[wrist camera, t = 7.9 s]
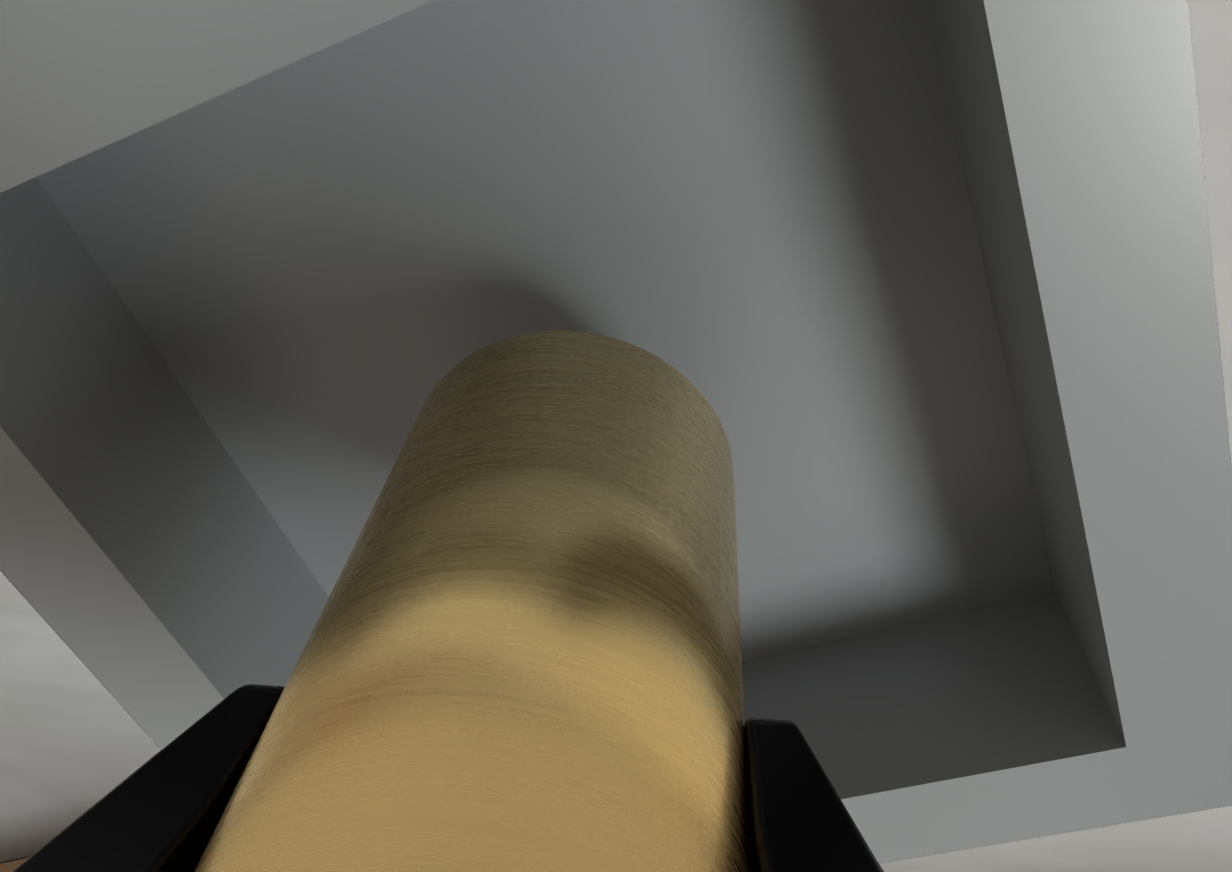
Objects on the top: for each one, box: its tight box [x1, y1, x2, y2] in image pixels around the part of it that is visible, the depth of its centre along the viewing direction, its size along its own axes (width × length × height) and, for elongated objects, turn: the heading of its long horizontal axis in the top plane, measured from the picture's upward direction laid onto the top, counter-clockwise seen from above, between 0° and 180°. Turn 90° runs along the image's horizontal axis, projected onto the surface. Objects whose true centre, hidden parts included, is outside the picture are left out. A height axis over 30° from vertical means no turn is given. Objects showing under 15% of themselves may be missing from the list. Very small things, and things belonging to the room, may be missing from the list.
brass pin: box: [194, 331, 750, 872], centre depth 9 cm, size 4×4×8 cm
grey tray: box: [0, 0, 1232, 863], centre depth 13 cm, size 14×14×4 cm
